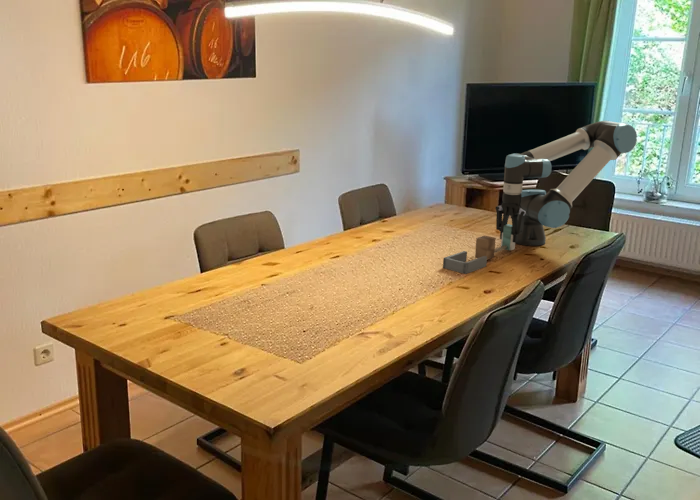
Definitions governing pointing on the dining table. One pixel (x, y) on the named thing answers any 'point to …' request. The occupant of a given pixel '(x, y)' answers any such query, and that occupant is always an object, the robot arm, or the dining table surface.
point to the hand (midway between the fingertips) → (507, 248)
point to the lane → (463, 263)
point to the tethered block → (493, 243)
